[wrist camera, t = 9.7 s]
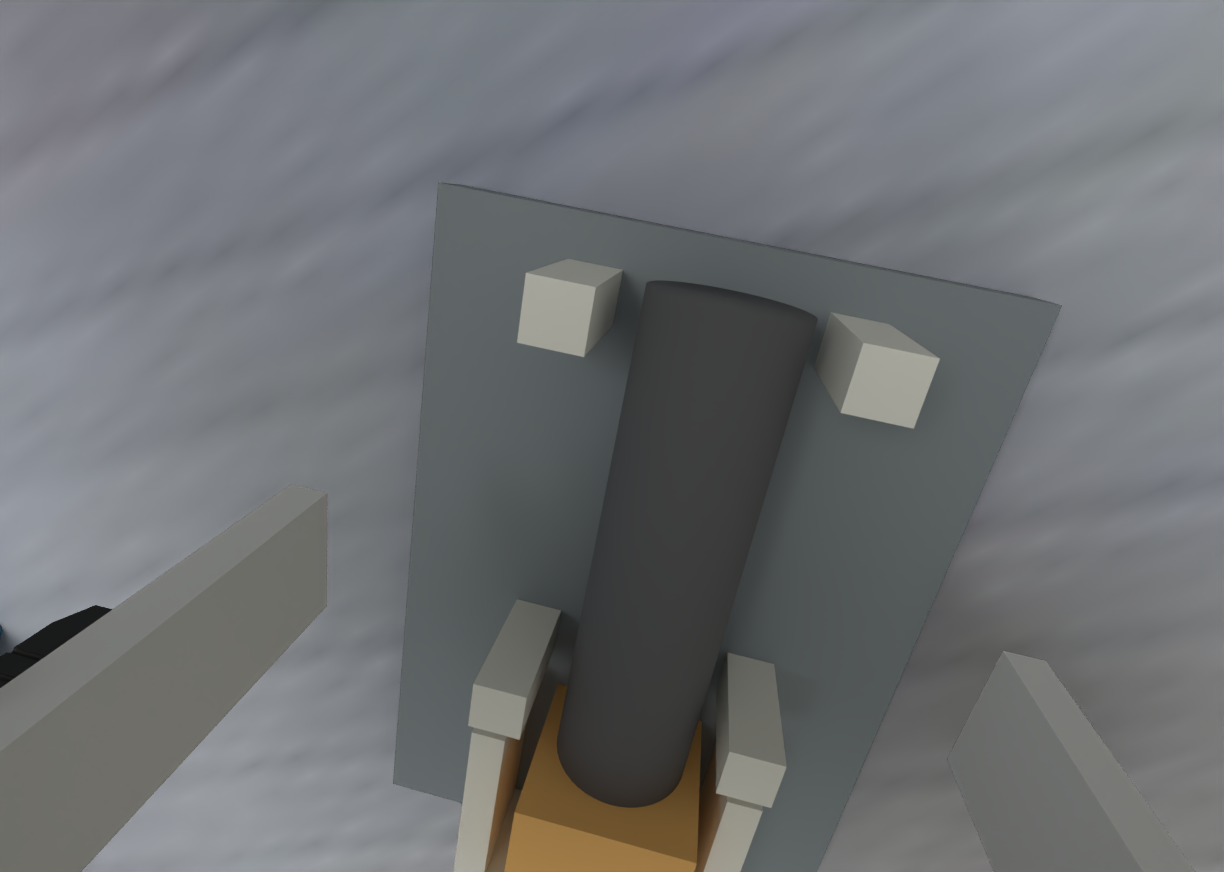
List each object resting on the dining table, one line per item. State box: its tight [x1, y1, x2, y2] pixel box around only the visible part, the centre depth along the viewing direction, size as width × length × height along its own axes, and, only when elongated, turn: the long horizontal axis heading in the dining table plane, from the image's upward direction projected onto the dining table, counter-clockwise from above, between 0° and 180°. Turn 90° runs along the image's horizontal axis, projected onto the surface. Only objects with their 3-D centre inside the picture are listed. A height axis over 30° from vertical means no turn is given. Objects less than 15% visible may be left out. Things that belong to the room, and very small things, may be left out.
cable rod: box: [504, 280, 818, 872], centre depth 18 cm, size 19×5×5 cm, turn 170°
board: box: [393, 183, 1062, 872], centre depth 19 cm, size 22×16×6 cm
